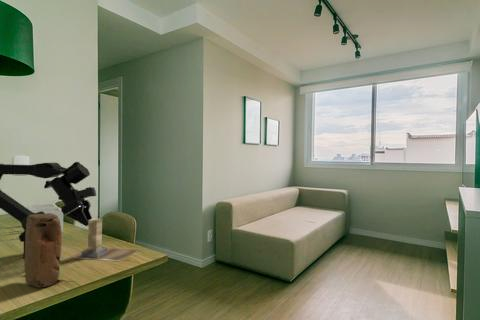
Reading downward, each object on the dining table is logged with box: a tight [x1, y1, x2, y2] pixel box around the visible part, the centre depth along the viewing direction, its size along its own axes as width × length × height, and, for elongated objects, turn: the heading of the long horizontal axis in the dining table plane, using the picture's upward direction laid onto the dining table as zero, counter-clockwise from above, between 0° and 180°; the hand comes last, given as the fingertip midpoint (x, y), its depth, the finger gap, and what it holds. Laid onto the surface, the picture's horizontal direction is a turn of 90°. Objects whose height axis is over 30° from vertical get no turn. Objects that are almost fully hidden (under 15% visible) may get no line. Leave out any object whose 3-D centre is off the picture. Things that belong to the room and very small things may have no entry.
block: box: [24, 213, 63, 289], centre depth 82 cm, size 11×8×20 cm
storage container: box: [27, 202, 64, 234], centre depth 138 cm, size 25×11×11 cm, turn 43°
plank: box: [68, 247, 138, 263], centre depth 102 cm, size 20×12×2 cm, turn 84°
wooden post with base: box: [81, 217, 108, 258], centre depth 100 cm, size 6×6×13 cm
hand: (90, 224), depth 105 cm, fingers open, 9 cm apart
